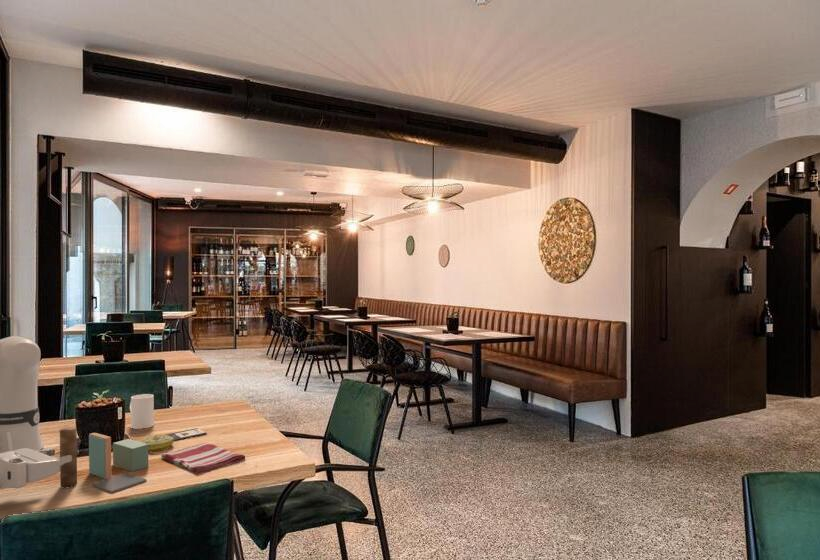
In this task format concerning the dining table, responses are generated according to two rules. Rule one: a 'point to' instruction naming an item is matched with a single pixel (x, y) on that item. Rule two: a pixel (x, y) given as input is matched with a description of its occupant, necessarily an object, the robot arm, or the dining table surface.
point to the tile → (100, 455)
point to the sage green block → (130, 455)
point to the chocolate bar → (187, 434)
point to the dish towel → (202, 457)
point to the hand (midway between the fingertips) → (62, 454)
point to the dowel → (68, 447)
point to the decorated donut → (158, 442)
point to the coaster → (119, 482)
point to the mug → (142, 411)
